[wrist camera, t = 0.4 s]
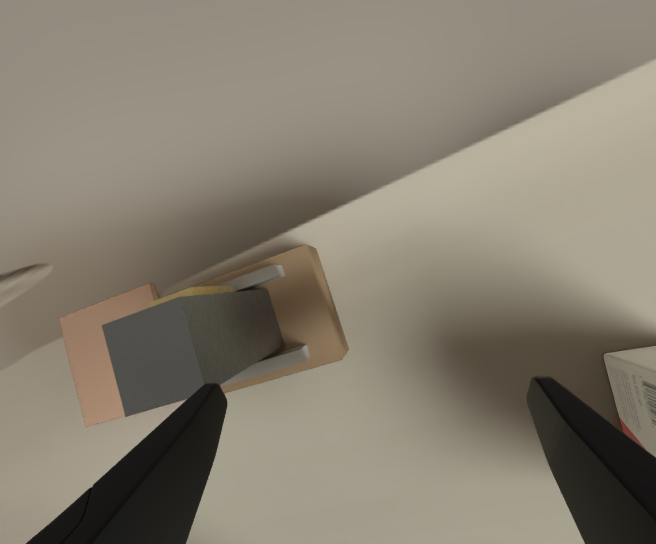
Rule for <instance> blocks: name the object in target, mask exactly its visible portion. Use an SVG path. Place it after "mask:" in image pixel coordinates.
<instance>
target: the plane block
mask: <svg viewBox="0 0 656 544" xmlns="http://www.w3.org/2000/svg"><path fill="white" fill-rule="evenodd" d="M228 285H233V287H234V290H235V292H238V291H249V290H260V289H268V292H269V295H270V298H271V301H272V305H273V308H274V311H275V314H276V318H277V321H278V324H279V327H280V331H281V334H282V337H283V340H284V343H285V345H284V346H282V347H281V348H279V349H277V350H276V351H274V352H273V353H271V354H269V355H268V356H266V357H264V358H263V359H261V360H260V361H258V362H256V363H255V364H253V365H252V366H250V367H248V368H247V369H245V370H244V371H242V372H240V373H239V374H237V375H235V376H234V377H232V378H231V379H229V380H227V381H226V382H224V383H223V384H221V385H220V386H221V388H222V391H223V393H227V392H231V391H234V390H238V389H241V388H245V387H248V386H252V385H255V384H259V383H262V382H266V381H269V380H273V379H276V378H280V377H283V376H287V375H290V374H294V373H297V372H301V371H304V370H308V369H311V368H315V367H318V366H322V365H325V364H329V363H332V362H336V361H339V360H342V359H343V358H344V356H345V355H346V353H347V351H348V350H349V348H348V345H347V342H346V339H345V336H344V333H343V330H342V327H341V324H340V321H339V317H338V314H337V311H336V308H335V305H334V302H333V299H332V296H331V293H330V290H329V287H328V284H327V281H326V278H325V275H324V272H323V269H322V266H321V262H320V259H319V256H318V253H317V250H316V248H313V247H310V246H308V245H302V246H300V247H297V248H294V249H292V250H289V251H286V252H283V253H281V254H278V255H275V256H273V257H270V258H267V259H265V260H262V261H259V262H256V263H254V264H251V265H248V266H246V267H243V268H240V269H237V270H235V271H232V272H229V273H227V274H224V275H221V276H219V277H216V278H213V279H210V280H208V281H205V282H202V283H200V284H197V285H194V286H192V287H207V286H228ZM189 288H190V287H189ZM186 289H187V288H186ZM183 290H184V289H183ZM181 291H182V290H181ZM178 292H179V291H178ZM175 293H176V292H175ZM173 294H174V293H173ZM170 295H171V294H170Z"/></svg>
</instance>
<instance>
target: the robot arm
mask: <svg viewBox="0 0 656 544" xmlns="http://www.w3.org/2000/svg"><path fill="white" fill-rule="evenodd" d="M527 403H528V407H529V410H530V412H531V415H532V418H533V421H534V424H535V427H536V430H537V433H538V436H539V439H540V441H541V444H542V447H543V450H544V453H545V456H546V459H547V461H548V464H549V466H550V469H551V471H552V473H553V476H554V478H555V480H556V482H557V484H558V486H559V489H560V491H561V493H562V495H563V497H564V499H565V501H566V504H567V506H568V508H569V510H570V512H571V514H572V517H573V519H574V521H575V523H576V525H577V527H578V530H579V532H580V534H581V536H582V538H583V540H584V542H585V544H656V457H655V456H653V455H652V454H651V453H649V452H648V451H647V450H646V449H644V448H643V447H642V446H640V445H639V444H638V443H636V442H635V441H634V440H633V439H631V438H630V437H629V436H627V435H626V434H625V433H624V432H622V431H621V430H620V429H618V428H617V427H616V426H614V425H613V424H612V423H611V422H609V421H608V420H607V419H605V418H604V417H603V416H601V415H600V414H599V413H598V412H596V411H595V410H594V409H592V408H591V407H590V406H589V405H587V404H586V403H585V402H583V401H582V400H581V399H579V398H578V397H577V396H576V395H574V394H573V393H572V392H570V391H569V390H568V389H566V388H565V387H564V386H563V385H561V384H560V383H559V382H557V381H556V380H555V379H553V378H552V377H549V376H535V377H533V378H532V379H531V382H530V386H529V390H528V394H527ZM226 410H227V399H226V397H225V395H224V393H223V391H222V388H221V386H220V385H219V384H218V383H206V384H204V385H203V386H202V387H200V388H199V389H198V390H197V391H196V392H195V393H194V394H193V395H192V396H191V397H189V398H188V399H187V400H186V401H185V402H184V403H183V404H182V405H181V406H180V407H178V408H177V409H176V410H175V411H174V412H173V413H172V414H171V415H170V416H169V417H167V418H166V419H165V420H164V421H163V422H162V423H161V424H160V425H159V426H158V427H156V428H155V429H154V430H153V431H152V432H151V433H150V434H149V435H148V436H147V437H145V438H144V439H143V440H142V441H141V442H140V443H139V444H138V445H137V446H135V447H134V448H133V449H132V450H131V451H130V452H129V453H128V454H127V455H126V456H124V457H123V458H122V459H121V460H120V461H119V462H118V463H117V464H116V465H115V466H113V467H112V468H111V469H110V470H109V471H108V472H107V473H106V474H105V475H104V476H102V477H101V478H100V479H99V480H98V481H97V482H96V483H95V484H94V485H93V487H91V488H89V489H88V490H87V491H86V492H85V493H84V494H83V495H81V496H80V497H79V498H78V499H77V500H76V501H75V502H74V503H73V504H71V505H70V506H69V507H68V508H67V509H66V510H65V511H63V512H62V513H61V514H60V515H59V516H58V517H57V518H56V519H54V520H53V521H52V522H51V523H50V524H48V525H47V526H46V527H45V528H44V529H43V530H41V531H40V532H39V533H38V534H37V535H35V536H34V537H33V538H32V539H31V540H29V541H28V542H27V543H26V544H186V541H187V539H188V536H189V533H190V530H191V527H192V524H193V521H194V518H195V515H196V512H197V509H198V506H199V503H200V500H201V497H202V494H203V492H204V489H205V486H206V483H207V480H208V477H209V474H210V471H211V468H212V465H213V462H214V459H215V455H216V451H217V448H218V443H219V439H220V435H221V431H222V426H223V422H224V418H225V414H226Z"/></svg>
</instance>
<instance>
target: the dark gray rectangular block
mask: <svg viewBox="0 0 656 544" xmlns="http://www.w3.org/2000/svg"><path fill="white" fill-rule="evenodd" d="M149 304H150V308H147V309H144V310H142V311H139V312H136V313H133V314H131V315H128V316H125V317H122V318H120V319H117V320H114V321H112V322H109V323H106V324H103V325H102V329H103V333H104V336H105V340H106V344H107V348H108V352H109V356H110V360H111V363H112V367H113V371H114V375H115V379H116V383H117V386H118V390H119V394H120V398H121V402H122V406H123V409H124V413H125V417H126V416H130V415H133V414H137V413H140V412H144V411H147V410H151V409H154V408H158V407H161V406H165V405H168V404H171V403H175V402H178V401H182V400H185V399H188V398H189V397H191V396H192V395H193V394H194V393H195V392H196V391H197V390H198V389H199V388H200V387H202V386H203V385H204V384H206V383H218V384H219V385H221V384H223V383H224V382H226V381H227V380H229V379H231V378H232V377H234V376H235V375H237V374H239V373H240V372H242V371H244V370H245V369H247V368H248V367H250V366H252V365H253V364H255V363H256V362H258V361H260V360H261V359H263V358H264V357H266V356H268V355H269V354H271V353H273V352H274V351H276V350H277V349H279V348H281V347H282V346H284V345H285V343H284V340H283V337H282V334H281V331H280V327H279V324H278V321H277V318H276V314H275V311H274V308H273V305H272V301H271V298H270V295H269V292H268V289H260V290H249V291H238V292H235V290H234V287H233V285H228V286H207V287H190V288H187V289H184V290H182V291H179V292H176V293H174V294H171V295H168V296H165V297H163V298H160V299H157V300H155V301H152V302H149Z"/></svg>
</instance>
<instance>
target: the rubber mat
mask: <svg viewBox="0 0 656 544" xmlns="http://www.w3.org/2000/svg"><path fill="white" fill-rule="evenodd" d="M157 299H159V298H158V294H157V291H156V287H155V284H154V283H149V284H146V285H144V286H141V287H138V288H135V289H133V290H130V291H128V292H125V293H122V294H120V295H117V296H115V297H112V298H109V299H107V300H104V301H102V302H99V303H96V304H94V305H91V306H89V307H86V308H83V309H81V310H78V311H76V312H73V313H70V314H68V315H65V316H63V317H60V318H59V321H60V325H61V329H62V333H63V337H64V341H65V345H66V349H67V353H68V357H69V361H70V365H71V369H72V373H73V377H74V381H75V385H76V389H77V393H78V397H79V401H80V405H81V409H82V413H83V417H84V421H85V425H86V427H88V426H91V425H95V424H98V423H101V422H105V421H108V420H112V419H115V418H119V417H122V416H125V413H124V409H123V406H122V402H121V398H120V394H119V390H118V386H117V383H116V379H115V375H114V371H113V367H112V363H111V360H110V356H109V352H108V348H107V344H106V340H105V336H104V333H103V329H102V325H103V324H106V323H109V322H112V321H114V320H117V319H120V318H122V317H125V316H128V315H131V314H133V313H136V312H139V311H142V310H144V309H147V308H150V304H149V302H152V301H155V300H157Z"/></svg>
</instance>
